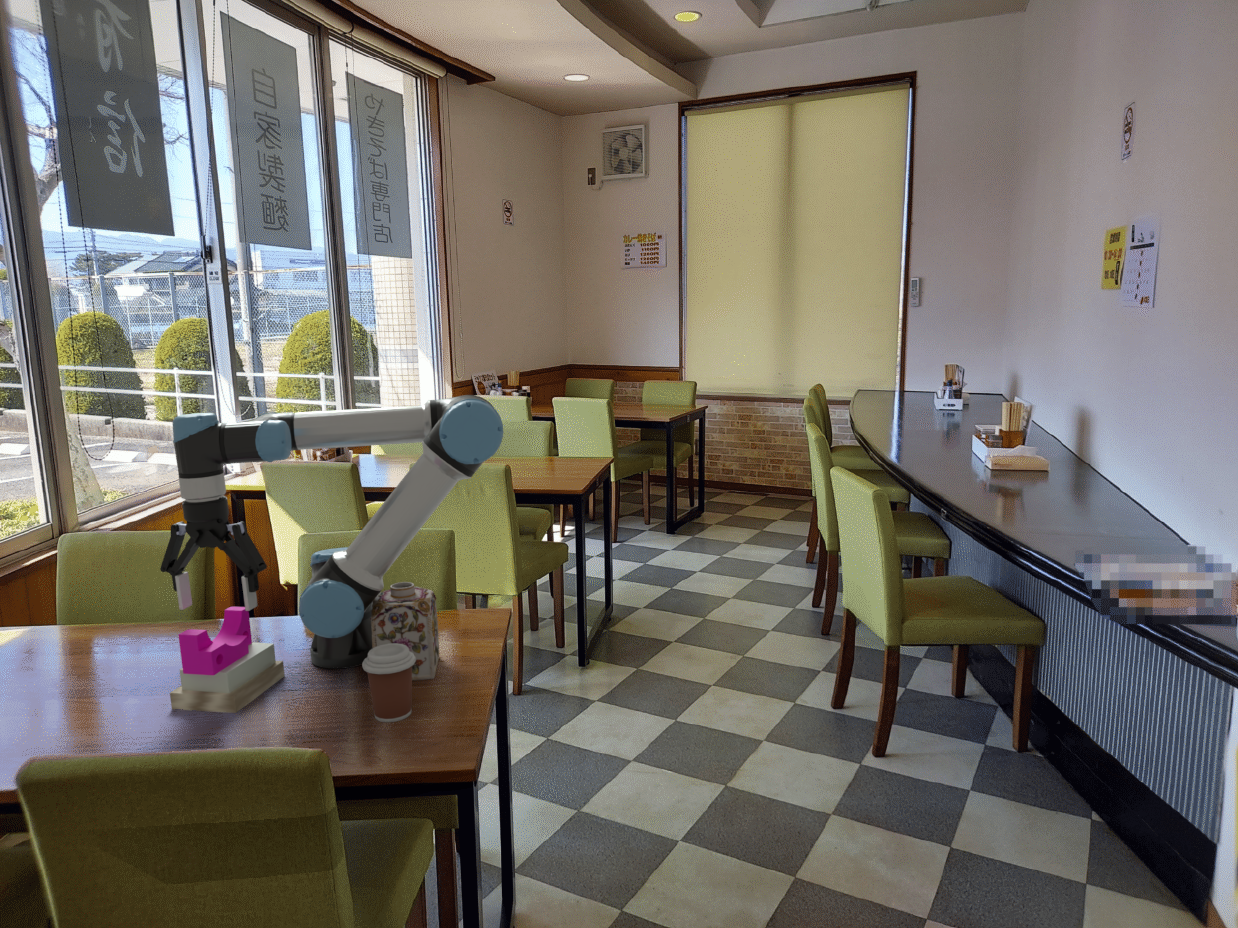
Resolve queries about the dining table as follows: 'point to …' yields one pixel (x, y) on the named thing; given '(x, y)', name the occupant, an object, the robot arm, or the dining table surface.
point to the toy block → (216, 644)
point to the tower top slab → (233, 671)
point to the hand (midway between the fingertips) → (218, 607)
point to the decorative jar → (408, 625)
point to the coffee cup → (390, 681)
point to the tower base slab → (227, 700)
